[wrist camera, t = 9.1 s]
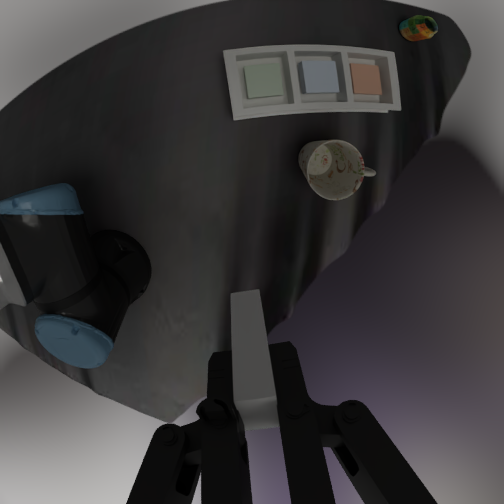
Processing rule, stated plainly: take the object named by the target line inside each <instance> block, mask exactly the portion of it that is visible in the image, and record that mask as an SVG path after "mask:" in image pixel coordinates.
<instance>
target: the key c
mask: <svg viewBox="0 0 504 504" xmlns="http://www.w3.org/2000/svg"><path fill="white" fill-rule="evenodd" d="M349 67H350V74H351V81H352V89H353V94H363V95H382V89H381V81H380V73H379V66H376V65H366V64H354V63H350V64H349Z"/></svg>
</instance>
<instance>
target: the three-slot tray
mask: <svg viewBox="0 0 504 504" xmlns="http://www.w3.org/2000/svg"><path fill="white" fill-rule="evenodd" d="M223 53H224V61H225V67H226V74H227V80H228V87H229V93H230V100H231V106H232V113H233V119H234V120H241V119H248V118H256V117H264V116H274V115H284V114H297V113H314V112H386V113H388V110H400V111H401V102H400V92H399V83H398V75H397V68H396V61H395V55H394V52H389V51H382V50H376V49H368V48H359V47H349V46H334V45H274V46H260V47H249V48H240V49H232V50H225V51H223ZM301 61H335V64H336V70H337V77H338V85H339V93H324V94H302V89H301V81H300V74H299V68H298V63H299V62H301ZM272 63H279V65H280V71H281V78H282V85H283V92H284V95H282V96H275V97H265V98H255V99H248V98H247V91H246V85H245V78H244V72H243V68H244V66H250V65H260V64H272ZM350 63H354V64H366V65H376V66H379V73H380V81H381V89H382V95H363V94H353V89H352V81H351V74H350V67H349V64H350Z"/></svg>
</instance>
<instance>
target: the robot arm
mask: <svg viewBox="0 0 504 504" xmlns="http://www.w3.org/2000/svg"><path fill="white" fill-rule="evenodd" d="M83 214H84V212H83V210H82V209H81V207H80V204H79V201H78V198H77V194H76V191H75V189H74V188H73V187H72V186H71V185H70V184H67V183H59V184H54V185H49V186H45V187H41V188H38V189H34V190H30V191H27V192H24V193H20V194H17V195H14V196H12V197H9V198H7V199H4V200H1V201H0V310H1V309H2V308H3V307H4V306H6V305H7V304H8V303H14V304H17V305H21V306H26V305H27V304H29V303H30V302H31V301H34V303H35V305H36V307H37V309H38V311H39V313H40V316H39V317H38V318H37V319H36V324H35V334H36V336H37V338H38V340H39V341H40V343H41V344H42V345H43V346H44V348H45V349H46V350H48V351H49V352H50V353H51V354H52V355H54V356H55V357H57V358H58V359H60V360H62V361H64V362H66V363H68V364H70V365H73V366H76V367H80V368H96V367H99V366H101V365H102V364H103V363H104V362H105V361H106V359H107V357H108V355H109V353H110V351H111V350H112V349H113V347H114V342H115V339H116V337H117V334H118V331H119V329H120V326H121V324H122V321H123V319H124V316H125V314H126V311H127V309H128V307H129V305H131V304H132V303H133V302H134V301H135V300H137V299H138V298H139V297H140V296H141V295H142V294H143V293H144V292H145V290H146V288H147V286H148V284H149V281H150V278H151V264H150V260H149V258H148V256H147V254H146V252H145V250H144V249H143V248H142V246H141V245H140V244H139V243H138V242H137V241H136V240H135V239H133V238H132V237H130V236H129V235H127V234H125V233H122V232H119V231H115V230H104V231H100V232H98V233H96V234H94V235H93V236H92V237H91V238H90V237H89V234H88V230H87V227H86V223H85V220H84V216H83ZM231 331H232V350H231V351H222V352H213V354H212V356H211V358H210V360H209V362H208V384H207V398H206V399H205V400H203V401H202V402H201V403H200V404H199V405H198V407H197V410H196V413H197V415H198V416H199V418H200V419H199V420H197V421H195V422H193V423H190V424H187V425H184V426H181V427H180V426H178V425H175V424H164V425H162V426H160V427H159V428H157V430H156V431H155V433H154V435H153V438H152V440H151V442H150V444H149V447H148V450H147V452H146V455H145V457H144V459H143V462H142V465H141V467H140V469H139V472H138V475H137V477H136V480H135V483H134V485H133V487H132V490H131V492H130V495H129V498H128V500H127V503H126V504H191V503H192V500H193V497H194V493H195V490H196V486H197V483H198V480H199V476H200V473H201V504H253V503H252V493H251V482H250V470H249V459H248V448H247V441H246V438H245V430H246V431H248V430H257V429H264V428H272V427H279V426H280V432H281V439H282V445H283V452H284V458H285V465H286V472H287V478H288V485H289V491H290V498H291V504H336V503H335V499H334V494H333V490H332V485H331V481H330V476H329V472H328V468H327V464H326V459H325V455H324V451H323V447H331V449H332V451H333V453H334V454H335V456H336V457H337V459H338V461H339V463H340V464H341V466H342V468H343V469H344V471H345V473H346V474H347V476H348V477H349V479H350V481H351V482H352V484H353V486H354V487H355V489H356V490H357V492H358V494H359V495H360V497H361V498H362V500H363V502H364V503H365V504H437V502H436V501H435V499H434V498H433V497H432V495H431V494H430V493H429V491H428V490H427V489H426V487H425V486H424V484H423V483H422V482H421V480H420V479H419V478H418V476H417V475H416V473H415V472H414V471H413V469H412V468H411V467H410V465H409V464H408V463H407V461H406V460H405V458H404V457H403V456H402V454H401V453H400V451H399V450H398V449H397V447H396V446H395V445H394V443H393V442H392V441H391V439H390V438H389V436H388V435H387V434H386V432H385V431H384V430H383V428H382V427H381V426H380V424H379V423H378V421H377V420H376V419H375V417H374V416H373V415H372V413H371V412H370V410H369V409H368V408H367V406H365V405H364V404H363V403H362V402H360V401H357V400H348V401H345V402H342V403H341V404H340V405H338V406H328V405H320V404H318V403H316V402H314V401H313V400H311V398H310V397H309V395H308V393H307V390H306V386H305V381H304V378H303V374H302V370H301V366H300V362H299V358H298V354H297V350H296V348H295V347H294V346H293V345H292V343H291V342H290V341H288V342H282V343H276V344H270V345H268V342H267V335H266V329H265V323H264V317H263V311H262V305H261V298H260V292H259V289H257V290H250V291H244V292H237V293H231Z"/></svg>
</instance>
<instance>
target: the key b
mask: <svg viewBox="0 0 504 504" xmlns="http://www.w3.org/2000/svg"><path fill="white" fill-rule="evenodd" d="M298 68H299V74H300V81H301V89H302V94H324V93H339V85H338V77H337V70H336V64H335V61H301V62H299V63H298Z"/></svg>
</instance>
